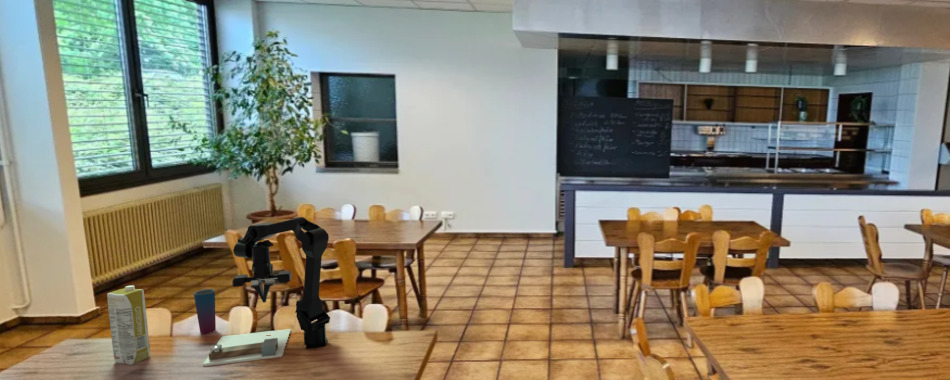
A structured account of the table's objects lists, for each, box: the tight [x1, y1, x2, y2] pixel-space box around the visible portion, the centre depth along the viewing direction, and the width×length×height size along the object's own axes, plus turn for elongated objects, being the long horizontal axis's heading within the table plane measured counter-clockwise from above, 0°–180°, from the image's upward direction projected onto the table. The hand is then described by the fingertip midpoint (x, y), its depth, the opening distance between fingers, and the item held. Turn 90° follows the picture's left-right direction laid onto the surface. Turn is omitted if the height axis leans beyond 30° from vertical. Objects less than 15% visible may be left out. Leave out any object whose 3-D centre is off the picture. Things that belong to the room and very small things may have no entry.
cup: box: [193, 288, 217, 335], centre depth 180 cm, size 7×7×15 cm
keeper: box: [261, 338, 278, 357], centre depth 160 cm, size 4×6×3 cm, turn 13°
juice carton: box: [106, 285, 151, 366], centre depth 158 cm, size 9×8×24 cm
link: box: [208, 341, 278, 360], centre depth 159 cm, size 20×4×2 cm, turn 107°
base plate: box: [202, 328, 292, 367], centre depth 166 cm, size 23×22×4 cm
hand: (264, 302), depth 175 cm, fingers closed
